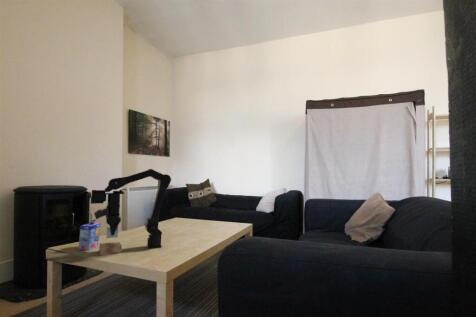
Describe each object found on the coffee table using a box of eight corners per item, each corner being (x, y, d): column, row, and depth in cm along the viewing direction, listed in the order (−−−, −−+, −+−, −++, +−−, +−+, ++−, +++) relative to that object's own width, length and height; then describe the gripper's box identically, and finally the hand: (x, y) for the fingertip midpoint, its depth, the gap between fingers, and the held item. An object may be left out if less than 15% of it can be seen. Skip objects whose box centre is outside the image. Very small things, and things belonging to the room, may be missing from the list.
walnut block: (118, 249, 134) (119, 241, 134) (121, 253, 126) (121, 245, 127) (99, 251, 129) (99, 243, 129) (100, 256, 122) (101, 247, 122)
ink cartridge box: (88, 250, 130) (90, 221, 131) (77, 250, 130) (79, 221, 132) (99, 245, 140) (101, 218, 141) (89, 245, 140) (91, 218, 141)
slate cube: (117, 235, 132) (117, 225, 133) (117, 237, 128) (118, 227, 128) (106, 236, 130) (106, 226, 130) (106, 238, 126) (107, 228, 126)
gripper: (95, 202, 135) (94, 232, 134) (95, 205, 118) (93, 240, 117) (119, 201, 140) (117, 230, 139) (121, 204, 124) (120, 237, 122)
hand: (112, 234), depth 129 cm, fingers closed on slate cube, 5 cm apart
